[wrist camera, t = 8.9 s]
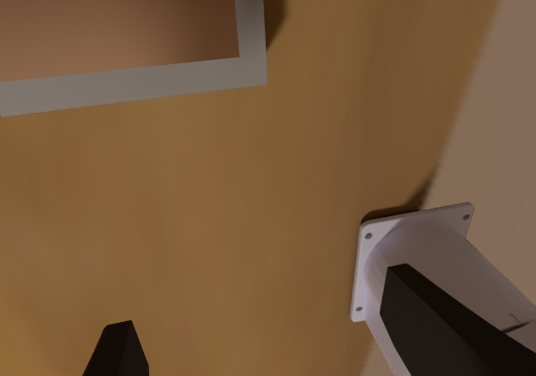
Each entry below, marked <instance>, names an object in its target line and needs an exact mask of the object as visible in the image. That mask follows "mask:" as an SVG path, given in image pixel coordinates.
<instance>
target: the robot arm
mask: <svg viewBox="0 0 536 376" xmlns="http://www.w3.org/2000/svg"><path fill="white" fill-rule="evenodd" d="M473 212H474V206H473V205H472V204H470V203H469V202H466V203H460V204H455V205H450V206H444V207H439V208H434V209H428V210H422V211H417V212H411V213H406V214H401V215H395V216H390V217H384V218H379V219H373V220H368V221H365V222H364V223H362V225H361V226H360V232H359V241H358V249H357V258H356V267H355V276H354V285H353V294H352V303H351V312H350V317H351V319H352V321H354V322H359V321H363V320H365V321H366V323H367V325H368V327H369V329H370V331H371V332H372V334H373V336H374V338H375V340H376V342H377V344H378V346H379V347H380V349H381V351H382V353H383V355H384V356H385V359H386V360H387V362H388V364H389V366H390V368H391V370H392V372H393V374H394V375H395V376H536V305H534V304H533V303H532V302H531V301H530V300H529V299H528V298H527V297H526V296H525V295H524V294H523V293H522V292H521V291H520V290H519V289H518V288H517V287H516V286H515V285H514V284H513V283H512V282H511V281H509V279H507V278H506V277H505V276H504V275H503V274H502V273H501V272H500V271H499V270H498V269H497V268H496V267H495V266H494V265H493V264H492V263H491V262H490V261H488V259H487V258H486V257H484V256H483V255H482V254H481V253H480V252H479V251H478V250H477V249H476V248H475V247H474V246H473V245H472V244H471V243H470V242H469V241H468V240H467V239H466V238H465V237H466V234H467V231H468V228H469V225H470V222H471V218H472V215H473ZM368 233H369V234H368ZM366 234H368V235H366ZM82 376H149V365H148V363H147V360H146V357H145V355H144V352H143V349H142V347H141V344H140V341H139V339H138V336H137V333H136V331H135V328H134V325H133V323H132V320H129V321H125V322H120V323H115V324H110V325H107V326H106V327H105V328H104V330H103V332H102V334H101V337H100V339H99V341H98V343H97V346H96V348H95V350H94V352H93V354H92V357H91V359H90V361H89V363H88V365H87V367H86V369H85V371H84V373H83V375H82Z"/></svg>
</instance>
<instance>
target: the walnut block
mask: <svg viewBox="0 0 536 376" xmlns="http://www.w3.org/2000/svg"><path fill="white" fill-rule="evenodd" d="M235 57H240V55H239V44H238V32H237V20H236V8H235V0H0V80H1V82H8V81H17V80H27V79H36V78H46V77H55V76H65V75H74V74H84V73H93V72H103V71H112V70H122V69H131V68H141V67H150V66H160V65H169V64H179V63H188V62H197V61H207V60H216V59H226V58H235Z"/></svg>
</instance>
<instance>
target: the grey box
mask: <svg viewBox="0 0 536 376" xmlns="http://www.w3.org/2000/svg"><path fill="white" fill-rule="evenodd" d="M235 8H236V20H237V32H238V44H239V55H240V57H235V58H226V59H216V60H207V61H197V62H188V63H179V64H169V65H160V66H150V67H141V68H131V69H122V70H112V71H103V72H93V73H84V74H74V75H65V76H55V77H46V78H36V79H27V80H17V81H8V82H1V80H0V114H1V116H2V117H4V116H12V115H21V114H29V113H37V112H45V111H53V110H62V109H70V108H78V107H86V106H94V105H103V104H111V103H119V102H127V101H135V100H144V99H152V98H160V97H168V96H176V95H185V94H193V93H201V92H209V91H217V90H226V89H234V88H242V87H250V86H258V85H267V84H268V79H267V60H266V41H265V22H264V3H263V0H235Z"/></svg>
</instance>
